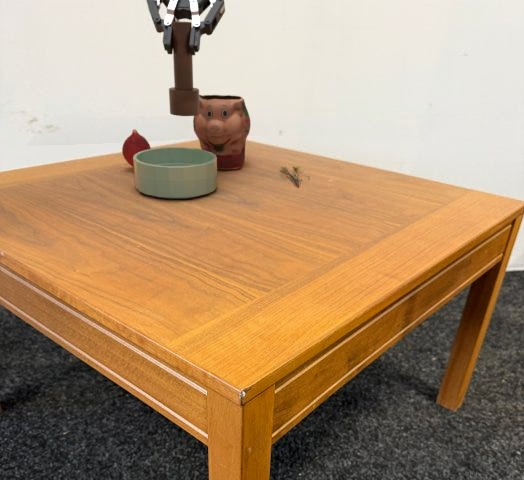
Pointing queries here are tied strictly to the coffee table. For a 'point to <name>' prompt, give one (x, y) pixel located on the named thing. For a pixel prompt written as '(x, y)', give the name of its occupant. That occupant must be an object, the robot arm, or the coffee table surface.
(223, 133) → the decorative planter
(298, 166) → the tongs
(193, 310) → the coffee table surface
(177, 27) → the pestle
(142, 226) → the coffee table surface
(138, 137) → the onion
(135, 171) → the bowl
